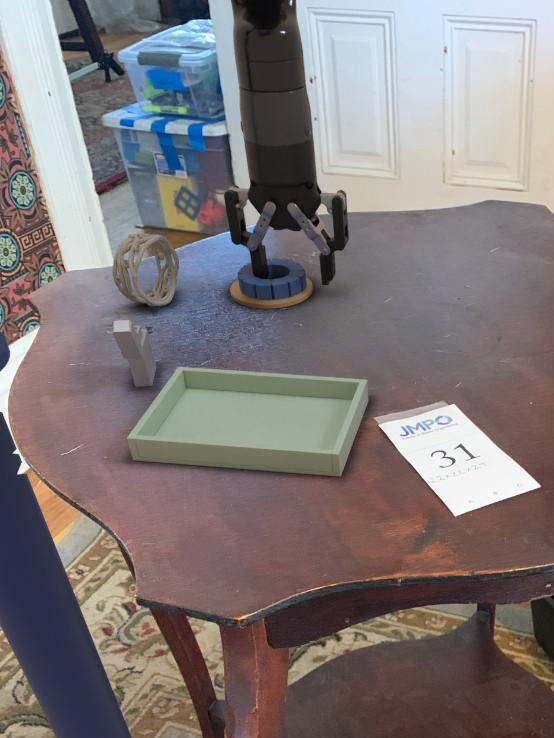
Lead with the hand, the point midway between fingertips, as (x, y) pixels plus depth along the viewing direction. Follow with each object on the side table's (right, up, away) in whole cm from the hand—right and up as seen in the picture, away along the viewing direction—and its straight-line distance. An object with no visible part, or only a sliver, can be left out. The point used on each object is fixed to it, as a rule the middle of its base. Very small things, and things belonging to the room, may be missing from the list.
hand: (295, 280), depth 104 cm
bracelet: (-17, -3, -1) cm, 17 cm away
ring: (-3, 0, +1) cm, 3 cm away
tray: (0, -22, -22) cm, 31 cm away
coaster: (-3, -1, +1) cm, 3 cm away
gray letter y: (-13, -17, -15) cm, 26 cm away
